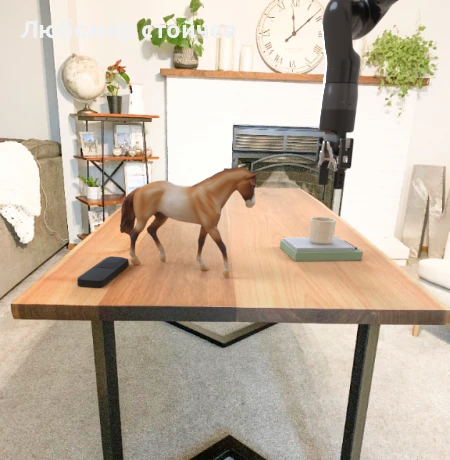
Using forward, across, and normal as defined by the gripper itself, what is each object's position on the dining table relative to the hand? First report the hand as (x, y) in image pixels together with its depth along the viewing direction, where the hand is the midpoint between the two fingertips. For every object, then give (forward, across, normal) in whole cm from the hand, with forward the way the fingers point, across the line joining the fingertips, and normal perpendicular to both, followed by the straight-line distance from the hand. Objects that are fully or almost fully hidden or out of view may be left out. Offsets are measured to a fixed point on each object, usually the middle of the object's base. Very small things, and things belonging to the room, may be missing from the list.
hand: (329, 186), depth 99 cm
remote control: (+16, -12, +49) cm, 53 cm away
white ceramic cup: (+13, +1, 0) cm, 13 cm away
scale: (+16, +1, 0) cm, 16 cm away
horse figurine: (+16, -6, +33) cm, 37 cm away
